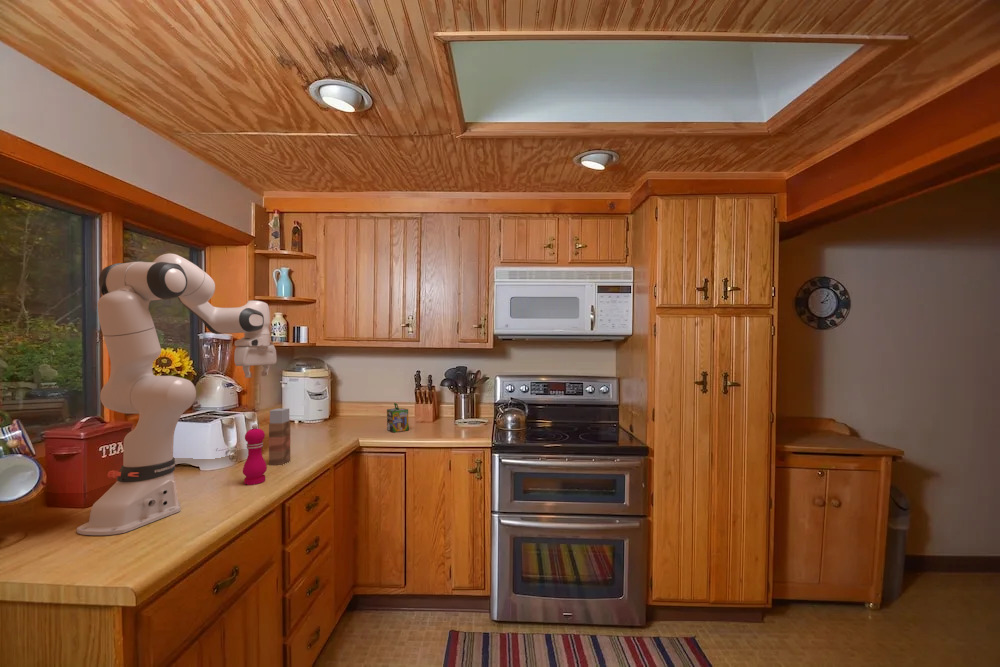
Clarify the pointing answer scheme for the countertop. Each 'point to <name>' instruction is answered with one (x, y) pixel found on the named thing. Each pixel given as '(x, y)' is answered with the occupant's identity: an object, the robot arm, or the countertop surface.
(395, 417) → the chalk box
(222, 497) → the countertop surface
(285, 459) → the tower base
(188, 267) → the robot arm
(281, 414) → the grey cube
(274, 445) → the tower mid
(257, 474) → the pepper mill
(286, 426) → the tower top
